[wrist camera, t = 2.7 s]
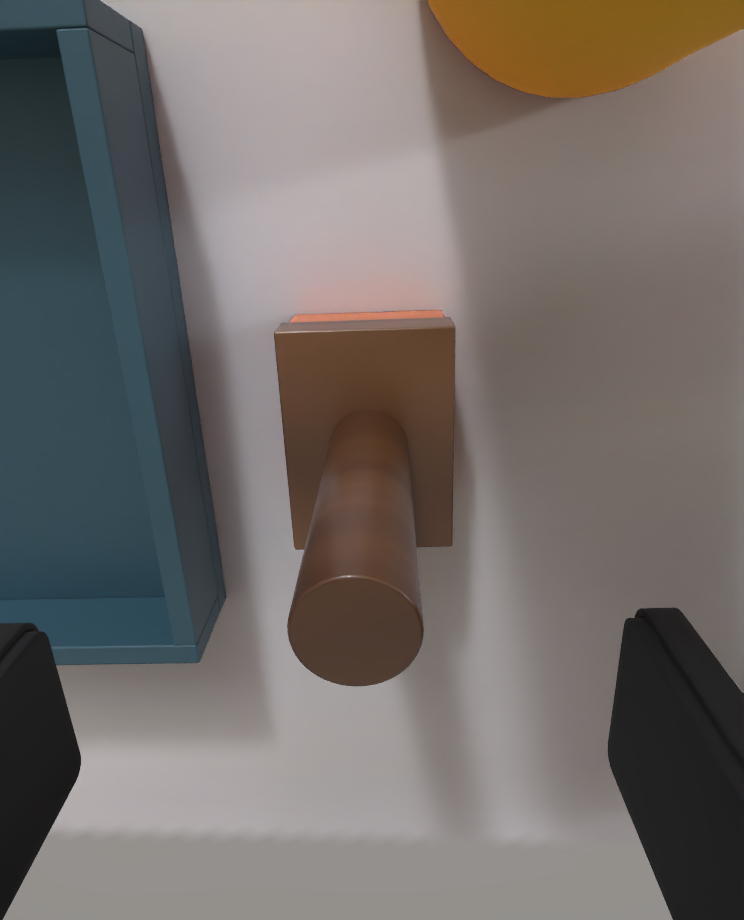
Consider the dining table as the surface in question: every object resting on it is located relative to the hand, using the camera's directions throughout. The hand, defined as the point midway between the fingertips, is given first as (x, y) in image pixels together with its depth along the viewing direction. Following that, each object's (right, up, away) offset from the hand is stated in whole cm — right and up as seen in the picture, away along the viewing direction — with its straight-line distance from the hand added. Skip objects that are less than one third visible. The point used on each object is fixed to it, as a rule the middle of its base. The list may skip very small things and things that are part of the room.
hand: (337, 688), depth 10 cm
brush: (+1, +5, +12) cm, 13 cm away
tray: (-13, +7, +12) cm, 19 cm away
